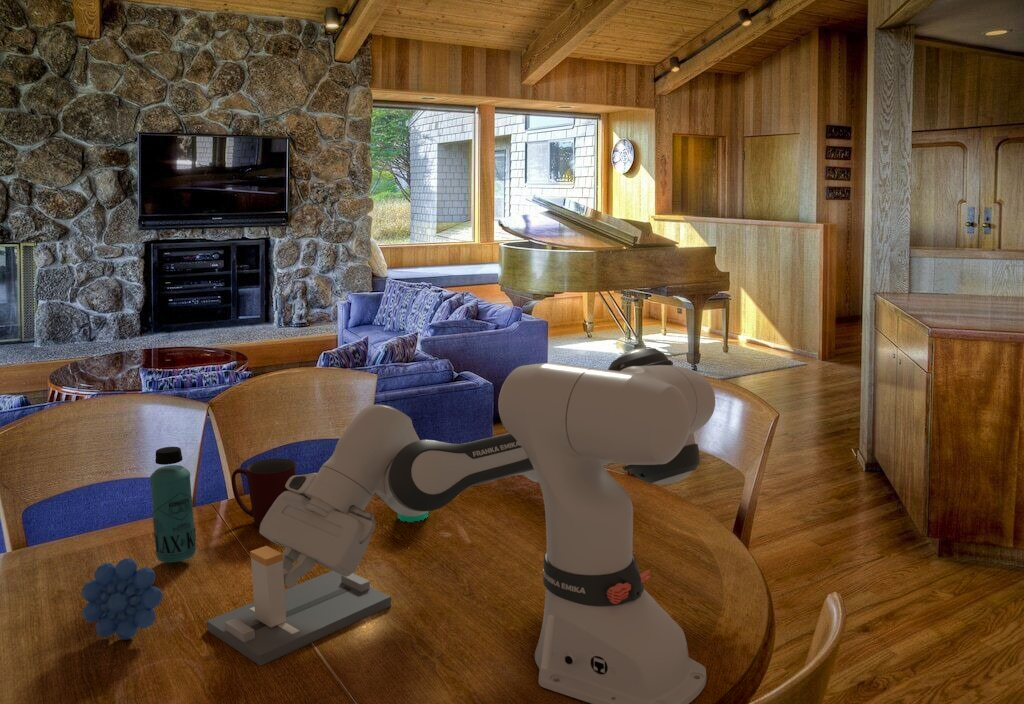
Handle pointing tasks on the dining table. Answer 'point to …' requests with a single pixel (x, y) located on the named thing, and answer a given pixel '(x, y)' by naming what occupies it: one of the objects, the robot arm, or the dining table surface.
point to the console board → (300, 616)
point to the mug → (264, 484)
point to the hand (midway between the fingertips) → (282, 583)
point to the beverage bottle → (172, 508)
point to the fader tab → (268, 586)
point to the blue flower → (121, 599)
